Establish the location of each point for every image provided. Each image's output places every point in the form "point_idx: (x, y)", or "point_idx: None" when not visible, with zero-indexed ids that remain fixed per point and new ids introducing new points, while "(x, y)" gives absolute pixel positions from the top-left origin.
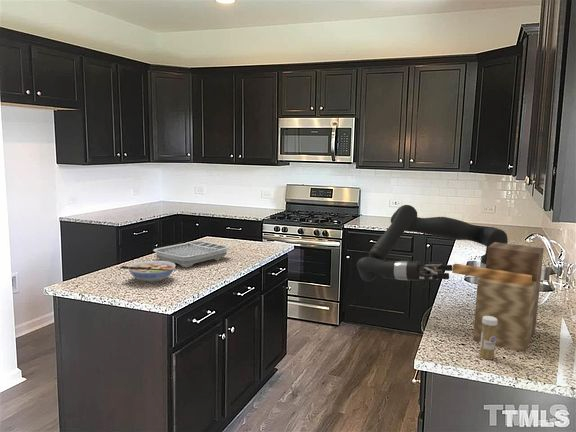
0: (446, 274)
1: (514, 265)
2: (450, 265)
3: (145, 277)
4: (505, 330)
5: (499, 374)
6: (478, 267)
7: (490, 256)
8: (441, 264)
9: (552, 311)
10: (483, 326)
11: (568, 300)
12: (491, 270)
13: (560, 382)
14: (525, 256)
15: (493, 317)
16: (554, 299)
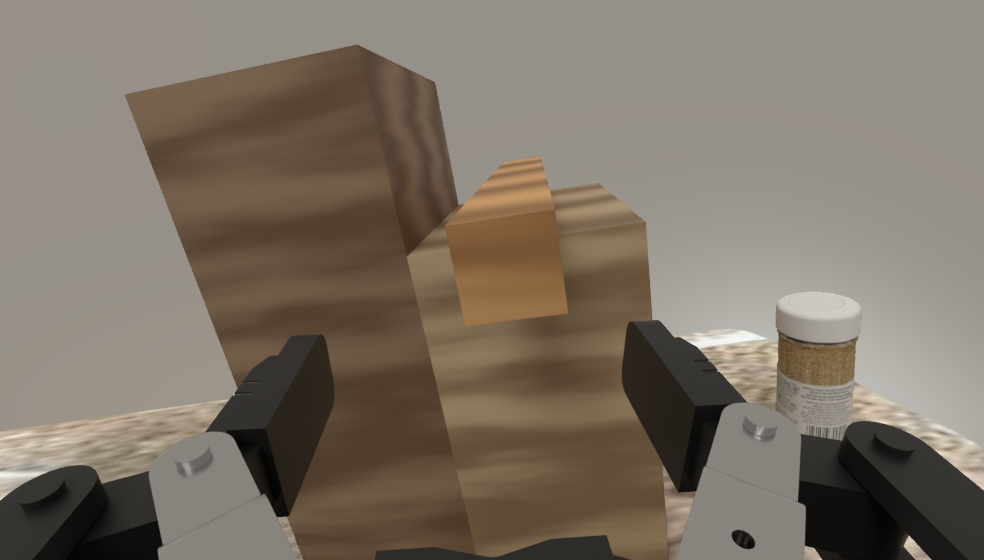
0: (665, 338)
1: (428, 156)
2: (311, 339)
3: None
4: None
5: (904, 409)
6: (494, 185)
7: (384, 123)
8: (217, 437)
9: (160, 436)
10: (854, 348)
11: (40, 430)
12: (529, 170)
13: (747, 336)
14: (426, 101)
15: (792, 299)
16: (12, 455)
